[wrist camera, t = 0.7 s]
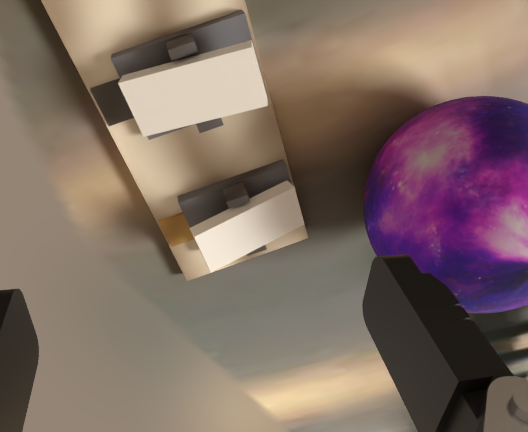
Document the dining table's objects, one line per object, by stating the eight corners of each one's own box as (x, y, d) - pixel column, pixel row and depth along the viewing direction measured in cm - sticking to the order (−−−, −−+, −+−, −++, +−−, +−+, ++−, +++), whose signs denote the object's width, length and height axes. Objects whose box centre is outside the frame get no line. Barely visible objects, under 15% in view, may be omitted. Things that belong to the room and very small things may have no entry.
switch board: (159, -308, 21) (162, -341, 18) (304, 231, 41) (318, 258, 38) (-74, -232, 21) (-111, -253, 18) (186, 273, 41) (190, 304, 38)
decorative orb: (504, 36, 35) (699, 115, 23) (502, 192, 44) (641, 307, 32) (316, 111, 35) (410, 229, 23) (353, 251, 44) (434, 389, 32)
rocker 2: (287, 180, 35) (294, 187, 34) (297, 216, 37) (304, 224, 36) (189, 228, 33) (194, 236, 32) (206, 263, 35) (211, 272, 34)
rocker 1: (251, 40, 27) (251, 47, 26) (267, 97, 29) (267, 105, 28) (122, 75, 28) (117, 83, 27) (147, 127, 30) (143, 136, 29)
